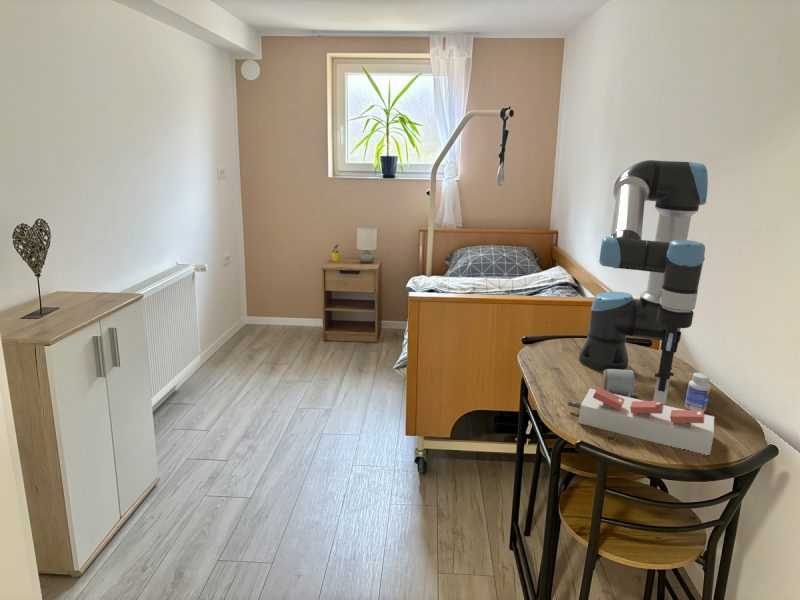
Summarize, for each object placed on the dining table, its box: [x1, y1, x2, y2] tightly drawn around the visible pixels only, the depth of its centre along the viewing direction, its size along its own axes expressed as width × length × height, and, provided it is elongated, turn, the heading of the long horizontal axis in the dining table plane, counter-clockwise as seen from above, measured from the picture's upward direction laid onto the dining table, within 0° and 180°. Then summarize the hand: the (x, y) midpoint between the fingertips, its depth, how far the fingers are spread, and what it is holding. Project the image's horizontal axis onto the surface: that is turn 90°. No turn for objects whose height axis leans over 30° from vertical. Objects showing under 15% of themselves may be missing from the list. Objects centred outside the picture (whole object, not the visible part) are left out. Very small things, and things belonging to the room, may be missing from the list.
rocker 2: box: [630, 400, 664, 414], centre depth 144 cm, size 4×7×2 cm, turn 62°
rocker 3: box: [670, 409, 705, 423], centre depth 140 cm, size 4×7×2 cm, turn 62°
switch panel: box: [567, 388, 715, 456], centre depth 148 cm, size 12×34×6 cm, turn 62°
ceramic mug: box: [601, 369, 636, 398], centre depth 165 cm, size 11×8×8 cm
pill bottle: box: [684, 372, 712, 412], centre depth 160 cm, size 5×5×10 cm
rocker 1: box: [593, 386, 625, 411], centre depth 148 cm, size 4×7×2 cm, turn 62°
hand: (659, 401), depth 142 cm, fingers closed
